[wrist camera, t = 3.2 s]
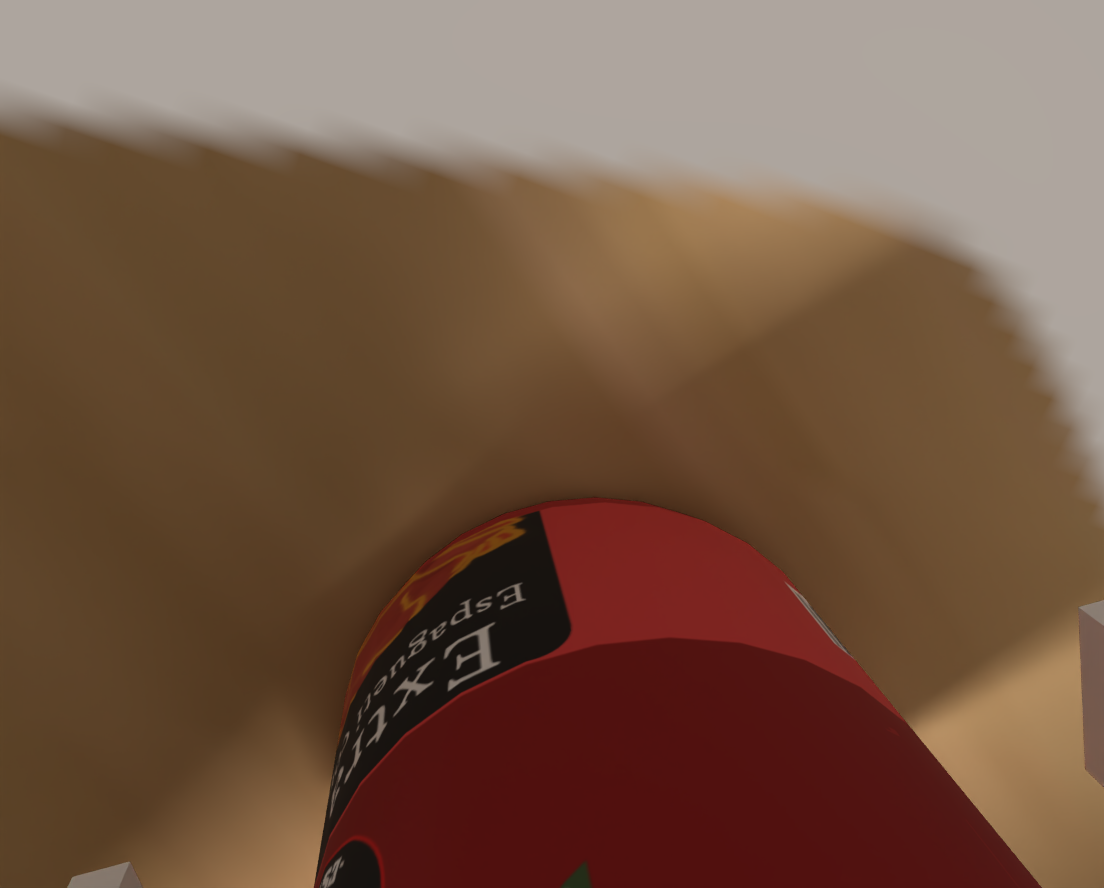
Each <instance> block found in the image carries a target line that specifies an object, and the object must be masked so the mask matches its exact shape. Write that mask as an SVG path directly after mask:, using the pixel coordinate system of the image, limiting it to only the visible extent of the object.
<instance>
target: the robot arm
mask: <svg viewBox="0 0 1104 888" xmlns="http://www.w3.org/2000/svg"><path fill="white" fill-rule="evenodd" d="M1078 611H1079V635H1080V659H1081V683H1082V707H1083V731H1084V755H1085V769H1086V770H1087V771H1088V772H1089V773H1090V774H1091V775H1092V776H1093V777H1094V778H1095V779H1096V780H1097V781H1098V782H1099V783H1100V784H1101V785H1102V786H1103V787H1104V600H1102V601H1099V602H1095V603H1091V604H1088V605H1084V606H1080V607H1078ZM67 888H143V887H142V885H141V883H140V881H139V879H138V877H137V875H136V872H135V870H134V868H133V866H132V864H131V862H126V863H122V864H118V865H115V866H111V867H107V868H103V869H100V870H96V871H92V872H89V873H85V874H81V875H77V876H74V877H72V879H71V881H70V883H69V885H68V887H67Z"/></svg>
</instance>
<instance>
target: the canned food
mask: <svg viewBox="0 0 1104 888" xmlns="http://www.w3.org/2000/svg"><path fill="white" fill-rule="evenodd" d="M314 888H1042V887H1041V886H1040V885H1039V884H1038V882H1037V881H1036V880H1035V879H1034V878H1033V876H1032V875H1031V874H1030V873H1029V871H1028V870H1027V869H1026V868H1025V867H1024V865H1023V864H1022V863H1021V862H1020V860H1019V859H1018V858H1017V857H1016V856H1015V854H1014V853H1013V852H1012V851H1011V849H1010V848H1009V847H1008V846H1007V845H1006V843H1005V842H1004V841H1003V840H1002V838H1001V837H1000V836H999V835H998V834H997V832H996V831H995V830H994V829H993V828H992V826H991V825H990V824H989V823H988V821H987V820H986V819H985V818H984V817H983V815H982V814H981V813H980V812H979V810H978V809H977V808H976V807H975V806H974V804H973V803H972V802H971V801H970V799H969V798H968V797H967V796H966V795H965V793H964V792H963V791H962V790H961V788H960V787H959V786H958V785H957V784H956V782H955V781H954V780H953V779H952V778H951V776H950V775H949V774H948V773H947V771H946V770H945V769H944V768H943V767H942V765H941V764H940V763H939V762H938V760H937V759H936V758H935V757H934V756H933V754H932V753H931V752H930V751H929V749H928V748H927V747H926V746H925V745H924V743H923V742H922V741H921V740H920V738H919V737H918V736H917V735H916V734H915V732H914V731H913V730H912V729H911V728H910V726H909V725H908V724H907V723H906V721H905V720H904V719H903V718H902V717H901V715H900V714H899V713H898V712H897V710H896V709H895V708H894V707H893V706H892V704H891V703H890V702H889V701H888V699H887V698H886V697H885V696H884V695H883V693H882V692H881V691H880V690H879V688H878V687H877V686H876V685H875V684H874V682H873V681H872V680H871V679H870V678H869V676H868V675H867V674H866V673H865V671H864V670H863V669H862V668H861V667H860V665H859V664H858V663H857V662H856V660H855V659H854V658H853V657H852V656H851V654H850V653H849V652H848V651H847V649H846V648H845V647H844V646H843V645H842V643H841V642H840V641H839V640H838V638H837V637H836V636H835V635H834V634H833V632H832V631H831V630H830V629H829V628H828V626H827V625H826V624H825V623H824V621H823V620H822V619H821V618H820V617H819V615H818V614H817V613H816V612H815V610H814V609H813V608H812V607H811V606H810V604H809V603H808V602H807V601H806V599H805V598H804V597H803V596H802V595H801V593H800V592H799V591H798V590H797V588H796V587H795V586H794V585H793V584H792V582H791V581H790V580H789V579H788V578H787V576H786V575H785V574H784V573H783V572H782V571H781V570H780V569H779V568H777V567H776V566H775V565H774V564H772V563H771V562H770V561H769V560H767V559H766V558H765V557H764V556H763V555H761V554H760V553H759V552H758V551H756V550H755V549H754V548H753V547H752V546H750V545H749V544H748V543H746V542H744V541H742V540H740V539H738V538H736V537H734V536H732V535H731V534H729V533H727V532H725V531H723V530H721V529H719V528H717V527H715V526H713V525H711V524H709V523H707V522H705V521H703V520H700V519H697V518H694V517H691V516H688V515H685V514H682V513H679V512H675V511H672V510H668V509H665V508H661V507H658V506H655V505H651V504H648V503H644V502H639V501H629V500H618V499H608V498H597V497H594V498H582V499H571V500H559V501H549V502H545V503H541V504H538V505H534V506H530V507H527V508H523V509H520V510H516V511H512V512H509V513H505V514H502V515H500V516H498V517H496V518H494V519H492V520H490V521H488V522H486V523H484V524H482V525H480V526H478V527H476V528H474V529H472V530H470V531H468V532H466V533H463V534H462V535H460V536H459V537H458V538H456V539H455V540H454V541H452V542H451V543H450V544H448V545H447V546H446V547H444V548H443V549H442V550H440V551H439V552H438V553H436V554H435V555H434V556H432V557H431V558H430V559H428V560H427V561H426V562H425V563H424V564H423V565H422V566H421V567H420V568H419V569H418V570H417V571H416V572H415V574H414V575H413V576H412V577H411V578H410V579H409V580H408V581H407V583H406V584H405V585H404V586H403V587H402V588H401V589H400V590H399V592H398V593H397V594H396V595H395V596H394V597H393V598H392V600H391V601H390V602H389V603H388V604H387V605H386V606H385V607H384V609H383V610H382V611H381V612H380V614H379V616H378V618H377V619H376V621H375V623H374V625H373V627H372V628H371V630H370V632H369V634H368V635H367V637H366V639H365V641H364V643H363V644H362V646H361V648H360V650H359V652H358V654H357V658H356V661H355V665H354V668H353V671H352V675H351V678H350V682H349V685H348V689H347V692H346V695H345V701H344V708H343V714H342V720H341V726H340V732H339V738H338V744H337V750H336V756H335V762H334V768H333V775H332V781H331V787H330V793H329V799H328V805H327V811H326V817H325V823H324V829H323V835H322V842H321V848H320V854H319V860H318V866H317V872H316V878H315V884H314Z"/></svg>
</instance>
